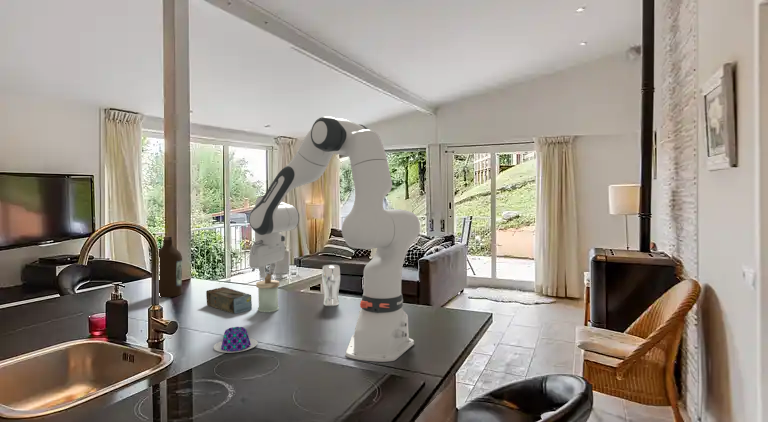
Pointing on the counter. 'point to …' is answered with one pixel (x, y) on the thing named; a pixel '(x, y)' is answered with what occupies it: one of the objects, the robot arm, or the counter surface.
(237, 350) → the purple patterned hat
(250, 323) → the counter surface
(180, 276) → the olive oil
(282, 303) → the counter surface
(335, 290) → the beer glass
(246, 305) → the beverage carton
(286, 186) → the robot arm
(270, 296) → the canister
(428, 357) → the counter surface
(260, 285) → the lid
